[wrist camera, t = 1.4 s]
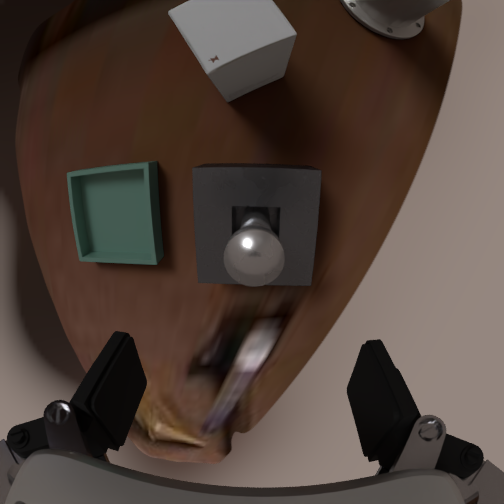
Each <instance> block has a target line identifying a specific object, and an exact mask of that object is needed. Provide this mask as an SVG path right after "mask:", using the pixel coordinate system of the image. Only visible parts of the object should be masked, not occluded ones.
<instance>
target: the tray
mask: <svg viewBox="0 0 504 504" xmlns="http://www.w3.org/2000/svg"><path fill="white" fill-rule="evenodd" d="M67 180H68V191H69V200H70V208H71V215H72V222H73V228H74V234H75V239H76V245H77V250H78V255H79V259H80V261H87V262H106V263H126V264H148V265H157V264H158V263H159V262H160V260H161V259H162V258H163V257H164V251H163V242H162V231H161V220H160V207H159V191H158V170H157V161H152V162H140V163H129V164H120V165H111V166H103V167H96V168H89V169H82V170H77V171H73V172H68V173H67Z"/></svg>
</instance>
